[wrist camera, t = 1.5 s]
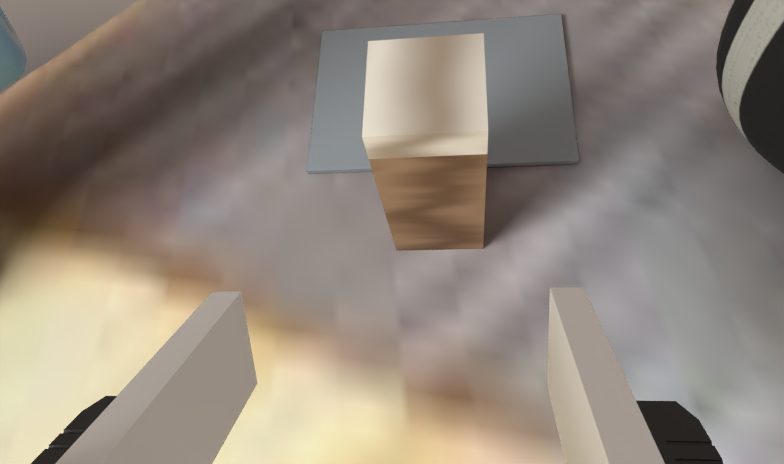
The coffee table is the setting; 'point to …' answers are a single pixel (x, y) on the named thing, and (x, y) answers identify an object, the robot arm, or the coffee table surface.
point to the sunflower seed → (755, 74)
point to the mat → (503, 87)
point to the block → (429, 138)
